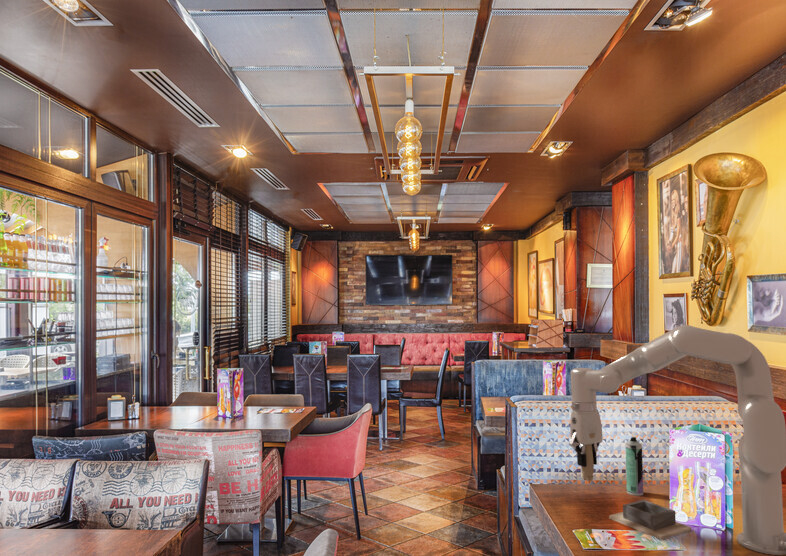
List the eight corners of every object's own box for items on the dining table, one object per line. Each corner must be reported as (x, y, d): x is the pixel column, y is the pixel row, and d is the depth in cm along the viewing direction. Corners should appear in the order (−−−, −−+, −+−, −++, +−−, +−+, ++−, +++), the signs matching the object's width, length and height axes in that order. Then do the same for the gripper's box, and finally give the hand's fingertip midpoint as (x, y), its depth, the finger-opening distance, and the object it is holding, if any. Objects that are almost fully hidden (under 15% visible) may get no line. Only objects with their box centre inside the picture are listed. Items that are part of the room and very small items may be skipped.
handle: (586, 483, 167) (583, 434, 168) (575, 477, 174) (573, 430, 175) (600, 482, 168) (597, 433, 169) (589, 476, 174) (587, 429, 176)
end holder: (691, 530, 161) (690, 513, 161) (661, 539, 154) (660, 522, 154) (638, 510, 176) (638, 495, 177) (609, 518, 170) (609, 502, 170)
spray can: (646, 495, 191) (644, 439, 192) (630, 495, 191) (629, 438, 192) (639, 490, 196) (637, 435, 198) (624, 490, 196) (623, 435, 198)
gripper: (574, 411, 165) (577, 471, 164) (611, 405, 173) (614, 463, 172) (556, 407, 172) (559, 466, 171) (593, 402, 180) (596, 458, 178)
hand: (587, 464), depth 171 cm, fingers closed on handle, 4 cm apart
